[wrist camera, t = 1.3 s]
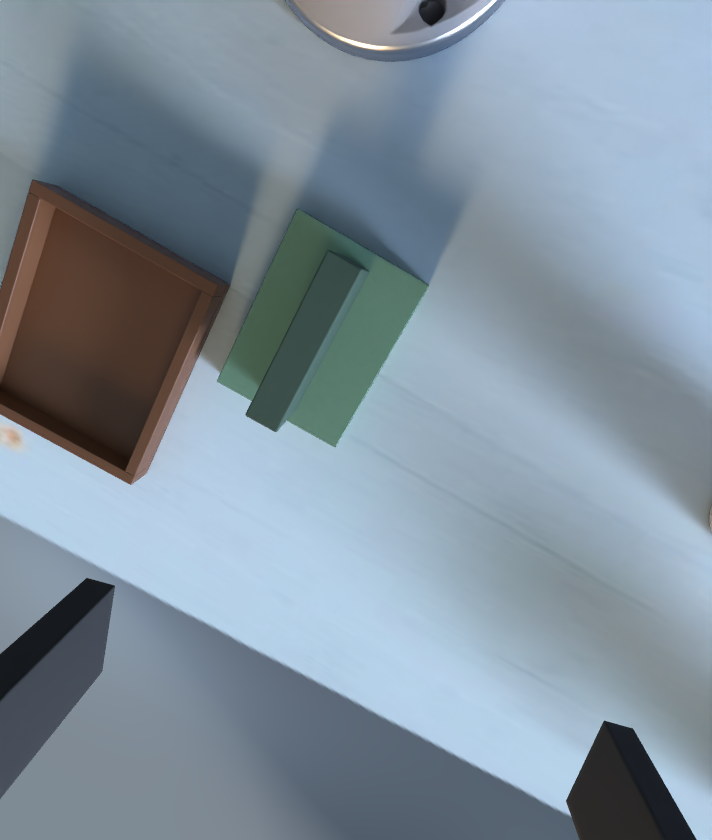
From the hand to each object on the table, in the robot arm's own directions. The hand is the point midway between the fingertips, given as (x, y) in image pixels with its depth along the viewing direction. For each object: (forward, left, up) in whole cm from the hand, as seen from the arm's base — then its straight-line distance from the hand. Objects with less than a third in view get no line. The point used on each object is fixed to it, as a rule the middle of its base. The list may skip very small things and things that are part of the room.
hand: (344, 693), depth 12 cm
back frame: (+4, -20, -22) cm, 30 cm away
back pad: (-4, -7, -22) cm, 23 cm away
